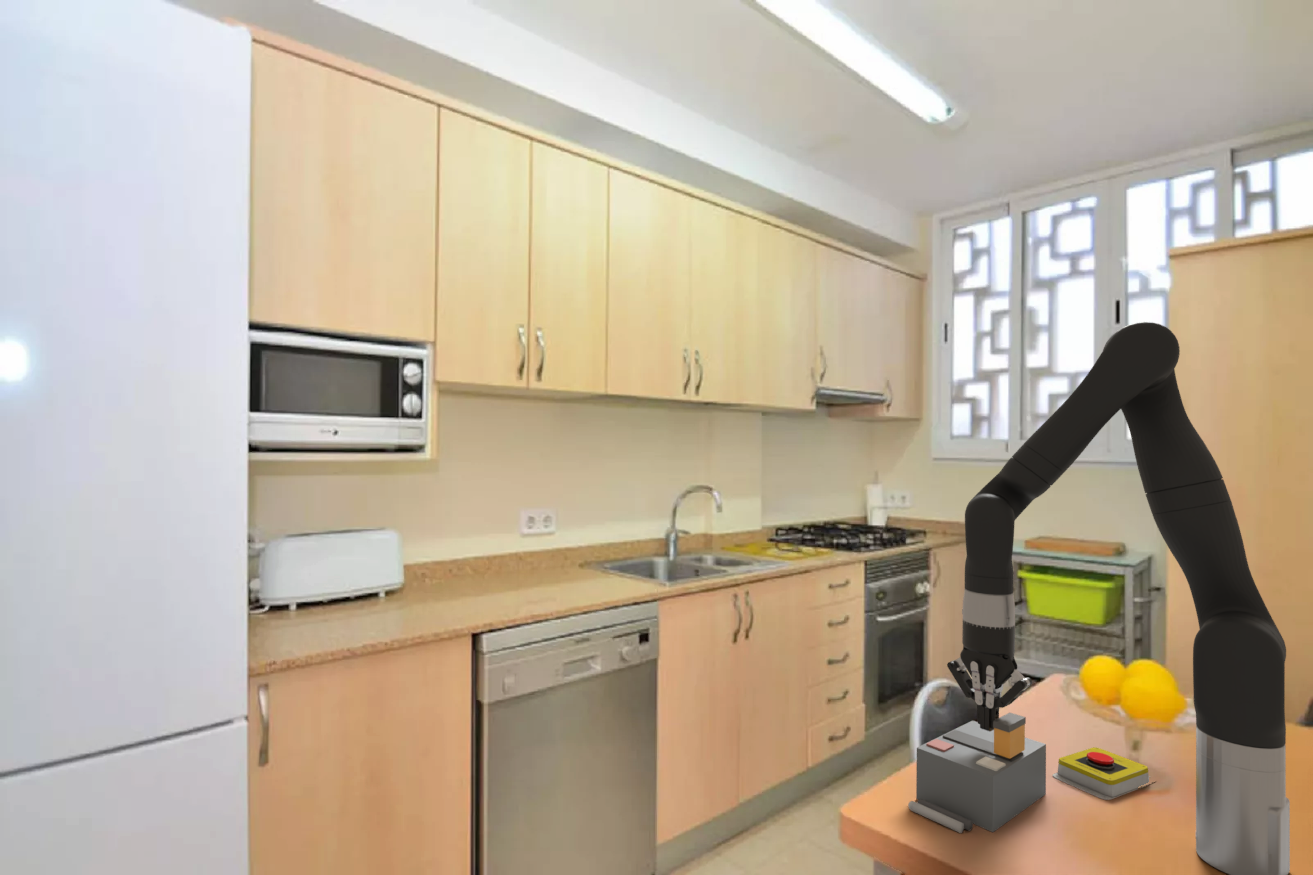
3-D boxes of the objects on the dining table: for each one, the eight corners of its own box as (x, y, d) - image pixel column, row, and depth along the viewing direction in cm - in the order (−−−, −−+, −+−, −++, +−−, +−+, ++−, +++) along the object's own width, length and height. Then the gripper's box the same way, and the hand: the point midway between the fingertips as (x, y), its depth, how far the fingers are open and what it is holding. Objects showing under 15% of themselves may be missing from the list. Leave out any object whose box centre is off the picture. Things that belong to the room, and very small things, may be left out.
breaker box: (1045, 794, 110) (1045, 742, 111) (992, 832, 99) (993, 774, 99) (972, 766, 120) (972, 718, 120) (916, 798, 109) (916, 745, 109)
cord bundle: (972, 829, 100) (972, 819, 100) (962, 836, 98) (962, 826, 98) (917, 804, 107) (917, 795, 107) (906, 810, 105) (906, 801, 105)
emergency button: (1049, 752, 117) (1101, 736, 124) (1049, 778, 117) (1101, 761, 124) (1106, 776, 109) (1159, 757, 116) (1106, 804, 109) (1158, 784, 115)
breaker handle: (1025, 749, 107) (1025, 717, 107) (1009, 759, 104) (1009, 725, 104) (1009, 744, 109) (1009, 712, 109) (992, 753, 106) (993, 720, 106)
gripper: (1042, 624, 106) (1042, 737, 106) (959, 608, 117) (959, 710, 117) (1021, 632, 102) (1020, 750, 101) (936, 614, 112) (935, 721, 112)
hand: (987, 728), depth 109 cm, fingers closed
